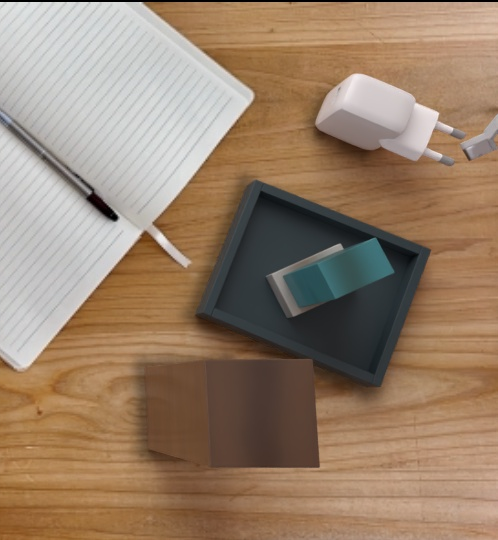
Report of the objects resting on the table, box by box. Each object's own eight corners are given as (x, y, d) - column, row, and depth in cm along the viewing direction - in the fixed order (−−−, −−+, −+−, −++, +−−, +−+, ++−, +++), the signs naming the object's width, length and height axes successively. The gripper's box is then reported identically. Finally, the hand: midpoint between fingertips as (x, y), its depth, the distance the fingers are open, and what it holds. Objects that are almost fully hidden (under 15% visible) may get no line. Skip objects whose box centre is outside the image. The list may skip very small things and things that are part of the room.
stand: (226, 366, 74) (313, 358, 56) (230, 449, 73) (320, 468, 55) (144, 366, 74) (205, 359, 57) (147, 449, 73) (210, 467, 56)
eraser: (333, 245, 74) (381, 227, 66) (355, 287, 74) (407, 274, 65) (265, 276, 74) (305, 261, 66) (286, 318, 74) (329, 309, 65)
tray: (417, 253, 75) (431, 249, 72) (367, 387, 73) (380, 387, 71) (246, 185, 76) (255, 178, 74) (194, 315, 75) (202, 312, 72)
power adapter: (446, 136, 76) (487, 115, 70) (426, 185, 75) (466, 168, 70) (327, 86, 77) (357, 61, 71) (306, 134, 77) (335, 112, 71)
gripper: (649, -32, 52) (417, 86, 62) (830, 272, 50) (558, 346, 59) (656, -26, 57) (439, 83, 66) (822, 254, 54) (570, 326, 64)
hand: (496, 209), depth 63 cm, fingers open, 8 cm apart
